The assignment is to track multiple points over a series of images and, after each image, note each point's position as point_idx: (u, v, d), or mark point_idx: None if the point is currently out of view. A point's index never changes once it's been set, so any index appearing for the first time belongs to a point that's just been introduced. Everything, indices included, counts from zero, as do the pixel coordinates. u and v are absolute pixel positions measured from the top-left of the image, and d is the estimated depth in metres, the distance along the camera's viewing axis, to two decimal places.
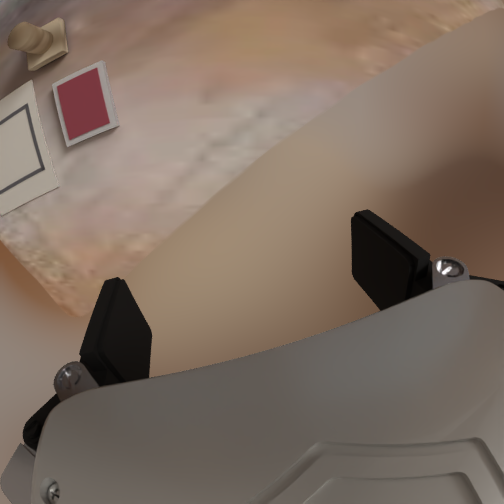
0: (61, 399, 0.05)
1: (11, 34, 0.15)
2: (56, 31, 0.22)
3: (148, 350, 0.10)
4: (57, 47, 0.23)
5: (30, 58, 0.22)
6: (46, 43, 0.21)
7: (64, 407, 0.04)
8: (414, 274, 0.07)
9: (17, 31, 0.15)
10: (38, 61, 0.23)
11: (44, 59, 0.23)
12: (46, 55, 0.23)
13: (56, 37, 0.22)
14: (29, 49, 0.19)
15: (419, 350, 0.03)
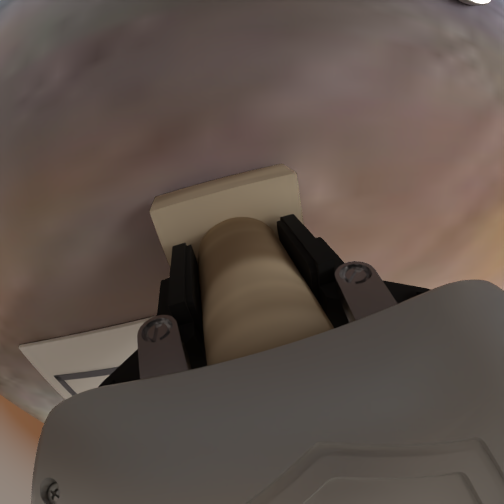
0: (139, 349, 0.07)
1: None
2: None
3: None
4: None
5: None
6: None
7: (64, 407, 0.04)
8: (317, 279, 0.08)
9: None
10: None
11: None
12: None
13: None
14: None
15: (419, 350, 0.03)
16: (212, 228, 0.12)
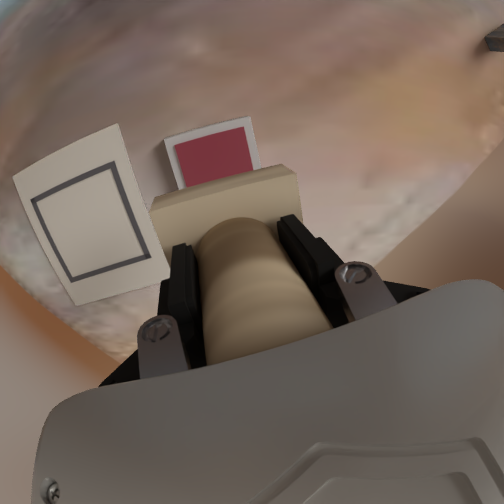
0: (139, 349, 0.07)
1: None
2: None
3: None
4: None
5: None
6: None
7: (64, 407, 0.04)
8: (317, 279, 0.08)
9: None
10: None
11: None
12: None
13: None
14: None
15: (419, 350, 0.03)
16: (212, 228, 0.12)
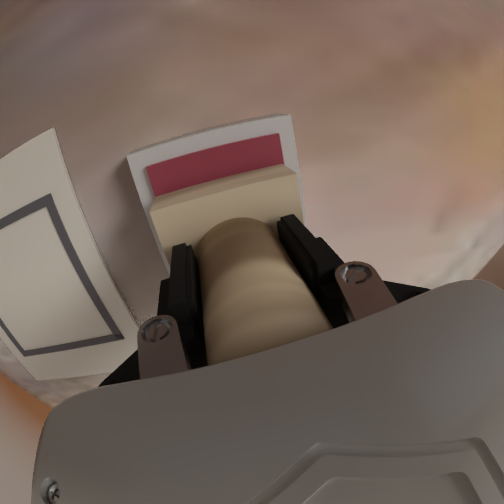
0: (139, 349, 0.07)
1: None
2: None
3: None
4: None
5: None
6: None
7: (64, 407, 0.04)
8: (318, 279, 0.08)
9: None
10: None
11: None
12: None
13: None
14: None
15: (420, 350, 0.03)
16: (212, 228, 0.11)
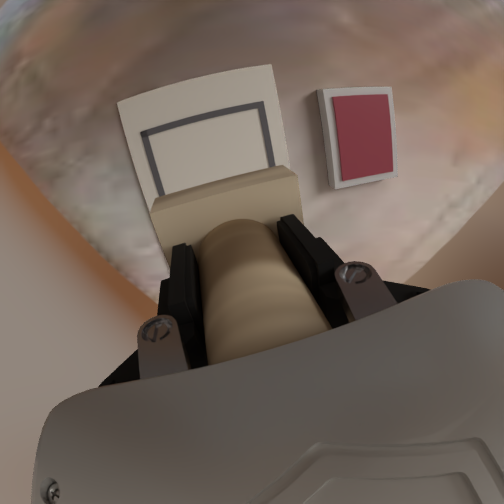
0: (139, 349, 0.07)
1: None
2: None
3: None
4: None
5: None
6: None
7: (64, 407, 0.04)
8: (317, 279, 0.08)
9: None
10: None
11: None
12: None
13: None
14: None
15: (419, 350, 0.03)
16: (213, 230, 0.11)
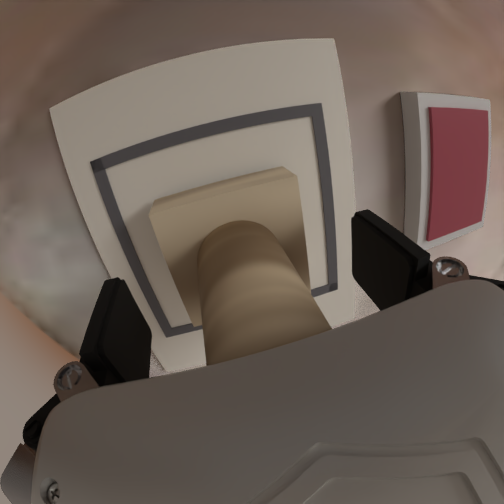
0: (61, 399, 0.05)
1: None
2: (289, 229, 0.12)
3: (148, 350, 0.10)
4: None
5: (195, 298, 0.13)
6: None
7: (64, 407, 0.04)
8: (414, 274, 0.07)
9: None
10: None
11: None
12: None
13: (292, 253, 0.13)
14: None
15: (419, 350, 0.03)
16: (212, 231, 0.11)
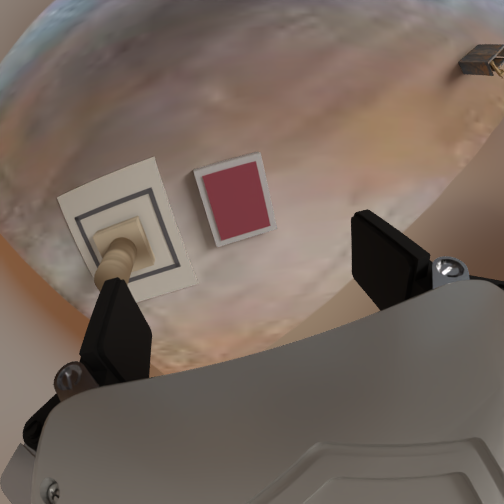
0: (61, 399, 0.05)
1: (97, 276, 0.25)
2: (137, 239, 0.32)
3: (148, 350, 0.10)
4: (145, 260, 0.33)
5: None
6: (134, 262, 0.31)
7: (64, 407, 0.04)
8: (414, 274, 0.07)
9: (105, 275, 0.25)
10: None
11: (131, 271, 0.33)
12: (133, 266, 0.33)
13: (140, 248, 0.32)
14: None
15: (419, 350, 0.03)
16: (112, 241, 0.31)
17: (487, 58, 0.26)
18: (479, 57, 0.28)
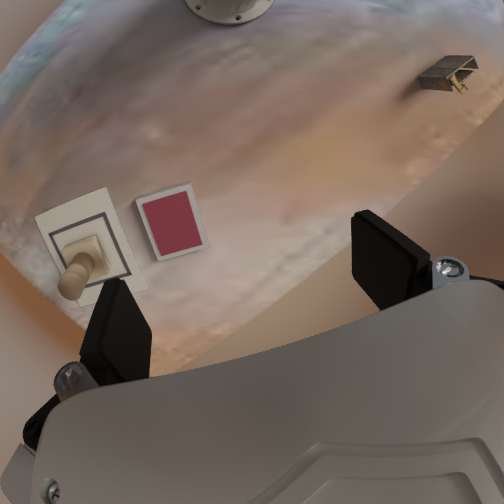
0: (61, 399, 0.05)
1: (60, 285, 0.31)
2: (94, 254, 0.37)
3: (148, 350, 0.10)
4: (101, 270, 0.39)
5: None
6: (91, 272, 0.37)
7: (64, 407, 0.04)
8: (414, 274, 0.07)
9: (65, 285, 0.31)
10: None
11: (91, 278, 0.39)
12: (92, 275, 0.39)
13: (97, 261, 0.38)
14: None
15: (420, 350, 0.03)
16: (75, 255, 0.37)
17: (448, 72, 0.30)
18: (440, 70, 0.32)
